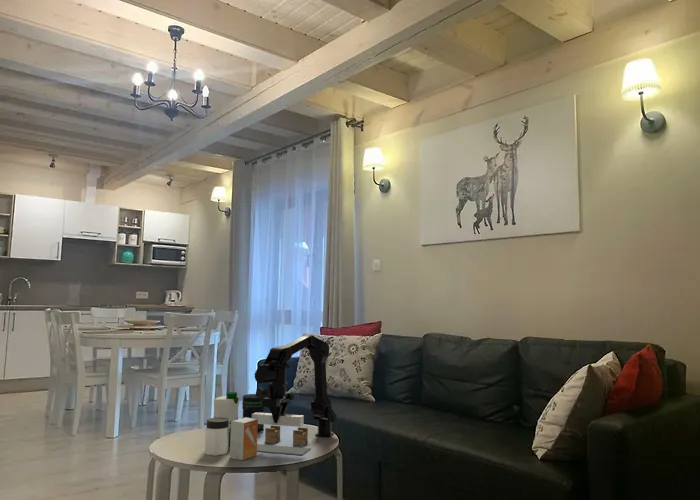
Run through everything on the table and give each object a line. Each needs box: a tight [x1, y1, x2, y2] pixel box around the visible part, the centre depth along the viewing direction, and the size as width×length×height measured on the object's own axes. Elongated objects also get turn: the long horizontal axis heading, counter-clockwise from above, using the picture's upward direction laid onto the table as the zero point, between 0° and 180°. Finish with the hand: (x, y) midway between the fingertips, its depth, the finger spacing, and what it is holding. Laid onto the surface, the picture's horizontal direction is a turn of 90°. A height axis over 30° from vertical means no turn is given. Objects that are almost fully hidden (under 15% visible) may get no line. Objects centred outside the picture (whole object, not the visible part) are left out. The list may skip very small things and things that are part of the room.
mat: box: [257, 443, 312, 456], centre depth 201 cm, size 9×24×1 cm, turn 75°
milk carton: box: [213, 391, 240, 448], centre depth 210 cm, size 9×9×20 cm
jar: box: [204, 417, 229, 457], centre depth 197 cm, size 9×8×12 cm
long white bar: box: [252, 412, 305, 428], centre depth 203 cm, size 4×20×4 cm, turn 75°
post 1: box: [264, 425, 281, 444], centre depth 215 cm, size 6×4×6 cm
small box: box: [229, 417, 258, 461], centre depth 193 cm, size 8×6×13 cm
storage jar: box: [241, 393, 266, 433], centre depth 234 cm, size 10×10×15 cm
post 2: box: [292, 426, 309, 446], centre depth 212 cm, size 6×4×6 cm
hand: (277, 422), depth 202 cm, fingers closed on long white bar, 3 cm apart
